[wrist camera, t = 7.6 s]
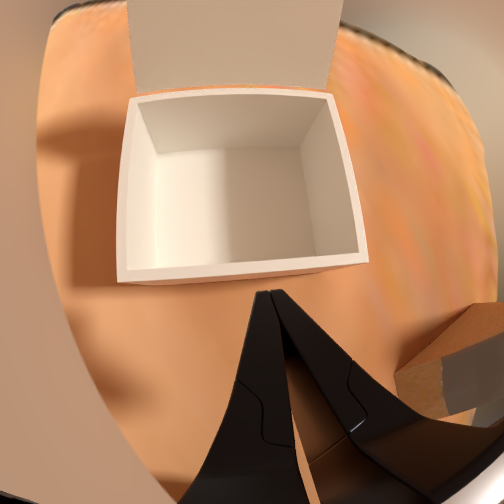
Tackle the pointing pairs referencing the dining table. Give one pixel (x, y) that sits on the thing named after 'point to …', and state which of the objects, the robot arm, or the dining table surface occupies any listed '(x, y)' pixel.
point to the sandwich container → (458, 365)
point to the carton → (235, 188)
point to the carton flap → (232, 42)
